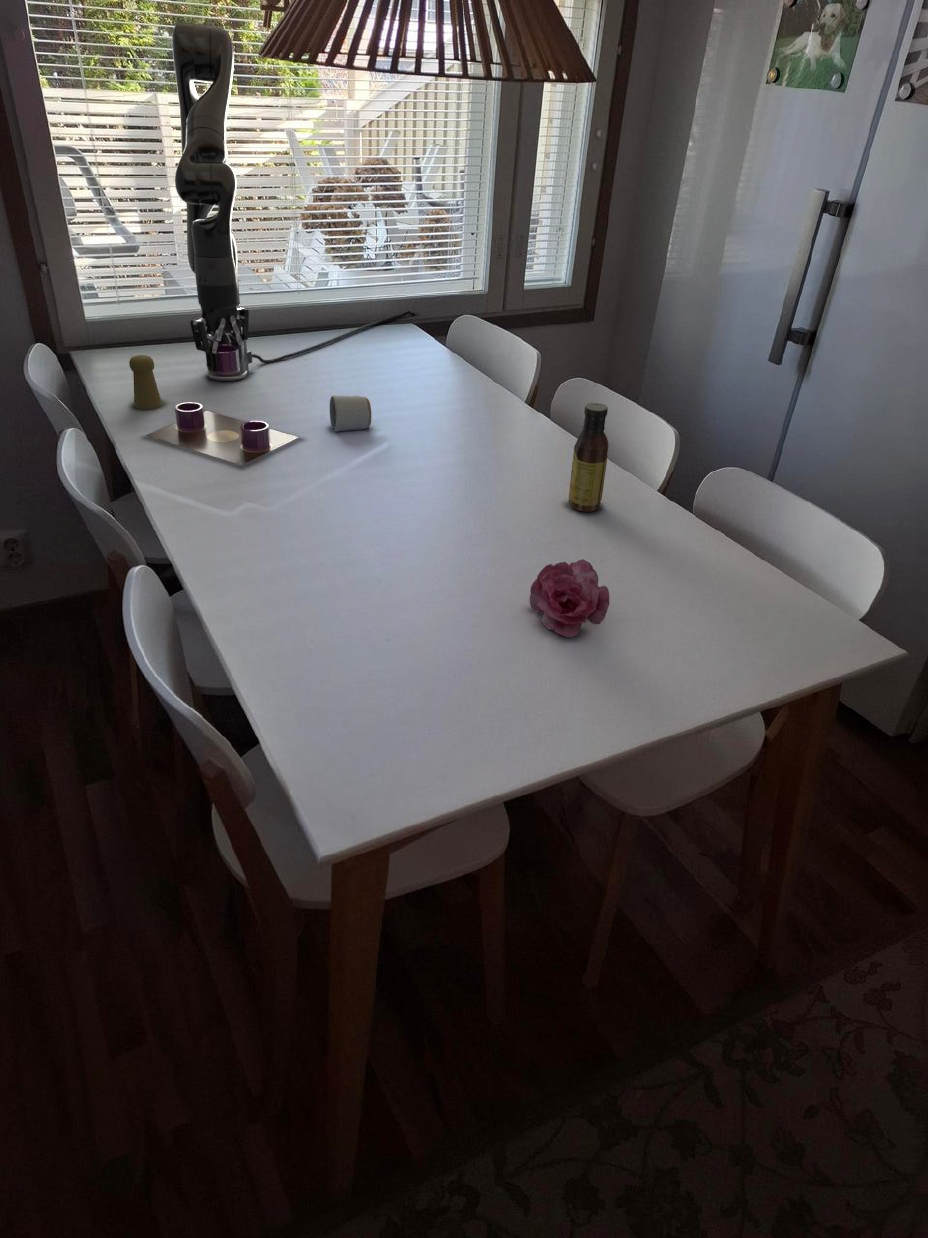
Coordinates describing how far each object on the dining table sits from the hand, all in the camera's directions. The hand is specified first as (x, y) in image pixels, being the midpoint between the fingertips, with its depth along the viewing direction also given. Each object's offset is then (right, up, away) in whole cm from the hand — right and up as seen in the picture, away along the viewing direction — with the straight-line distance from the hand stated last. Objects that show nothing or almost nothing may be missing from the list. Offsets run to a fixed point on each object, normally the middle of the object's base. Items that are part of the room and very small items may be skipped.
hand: (225, 366), depth 172 cm
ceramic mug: (+22, -9, +17) cm, 29 cm away
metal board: (-3, -13, +8) cm, 15 cm away
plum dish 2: (0, -1, 0) cm, 1 cm away
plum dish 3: (+5, -15, +4) cm, 17 cm away
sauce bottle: (+71, -30, -10) cm, 78 cm away
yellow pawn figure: (-24, -2, +22) cm, 32 cm away
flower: (+64, -51, -43) cm, 92 cm away
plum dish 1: (-10, -10, +11) cm, 18 cm away
